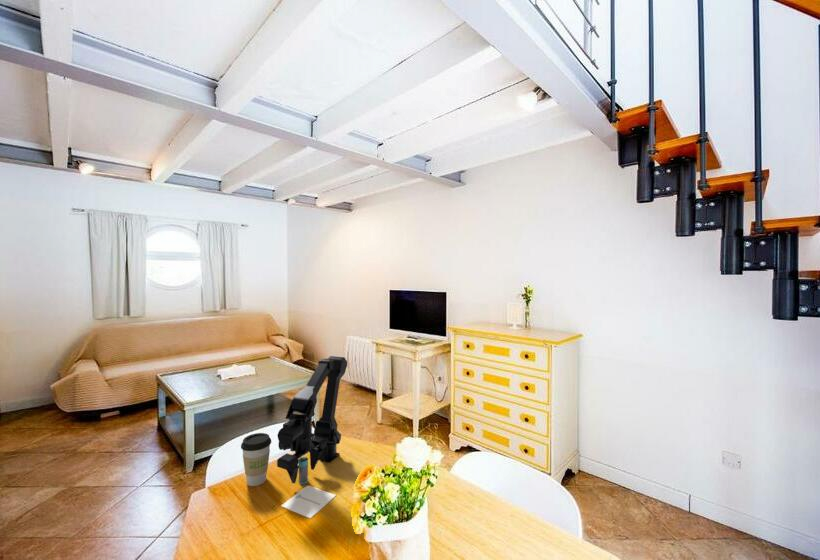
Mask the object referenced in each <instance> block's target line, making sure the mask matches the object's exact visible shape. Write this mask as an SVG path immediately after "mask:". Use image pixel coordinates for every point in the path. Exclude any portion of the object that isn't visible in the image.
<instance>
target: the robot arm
mask: <svg viewBox="0 0 820 560" xmlns="http://www.w3.org/2000/svg"><path fill="white" fill-rule="evenodd" d="M347 367H348V361H347V359H346V357H345V356H344V357H343V356H333V355H331V356H328V357H327V358H322V359H319V360H318V363H317V366H316V368H315V370H314V372H313V373H312V375H311V377H310V378H309V380H308V382H307V383H306V385H305V387H304V388H302V389H300V390H299V391H298V392H297V393H296V394H295V395H294V396H293V398H292V399H291V401H290V405H289V407H288V411H287V413H286V415H285V419H286V420H288V421H287V422H286V421H285V422H283V424H282V428H280V429H279V431H278V433H277V440H278V449H279V450H280V451H282V450H283V451H286V450H289V451H290V452H292V453H293V452H294V453H293V454H290V453H285V454H283V455H282V456H280V457H279V458H278V459H277V462H276V465H277V466H276V467H277V468H279V469H283V470H285V471H286V473H287V474H288V476H289V479H290V481H291V484H296V482H297V479H298V478H297V477H298V475H299V459H300V458H301V457H305V455H307V454H308V453H309V461H310V470H312V471H314V470H315V469H316V468H315V467H316V466H317V464H318V462H319V460H321V461H324V462H328V463H331V462H332V461H333V460H335V459H336V458H338V457H339V456H340V453H339V452H337V445H339V444H340V443H341V442H340V441H341V439H342V434H341V433H340V432H339V430H338V423H337V420H336V417H335V416H336V410H337V409H336V408H337V403H338V396H339V390H340V382H341V379H342V377H343V376H344V375H345V374H346V370H347ZM326 379H327V382H326V388H325V395H324V402H323V408H322V415H321V417H320V418H319V419H318V420H316V421H315V425H314V431H312V430H313V429H312V428H313V425H312V424H313V423H312V422H313V421H312V420H313V419H312V418H313V416H314V415H315V412H314V411H315V408H316V405H317V402H318V398H317V397H318V393H319V391H320V390H321V388H322V386H323V385H324V382H325V380H326Z"/></svg>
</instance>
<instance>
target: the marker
mask: <svg viewBox="0 0 820 560" xmlns="http://www.w3.org/2000/svg"><path fill="white" fill-rule="evenodd" d="M298 460H299V463H298V466H299V469H298V484H299V485H306V484H307V483H308V482H309V471H308V470H309V458H308V457H307V456H302V457H301V458H299V459H298Z"/></svg>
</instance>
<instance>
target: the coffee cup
mask: <svg viewBox="0 0 820 560" xmlns="http://www.w3.org/2000/svg"><path fill="white" fill-rule="evenodd" d="M271 444H272V439H271V437H270V435H269V433H266V432H265V433H264V432H257V433H252V434H250V435H247V436H246V437H244V438H243V440H242V442H241V445H240V449H241V450H242V461H243V468H244V472H245V479H246V484H247V486H249V487H256V486H260V485H262V484H264V483H265V482H266V481H267V474H268V469H269V468H268V467H269V459H270V452H271V451H270V449H271V448H270V447H271Z"/></svg>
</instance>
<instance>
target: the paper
mask: <svg viewBox="0 0 820 560" xmlns="http://www.w3.org/2000/svg"><path fill="white" fill-rule="evenodd" d="M335 497H337V495H336V494H334V493H331V492H329V491H328V492H327V490H326V491H325V490H323V489H320V488H317V487H314V486H312V485H306V486H305V487H303V488H302V489H300V491H298V492H297V493H296V494H295V495H293V496H292V497H290V498H289V499H288V500H287V501H285V502H283V504H281V505H280V506H281V508H284V509H286V510H289V511H291V512H294V513H295V514H298V515H301V516H303V517H306V518H308V519H312V518H313V517H314V516H316V514H317V513H319V512H320V511H321V510H322V509H323V508H325V506H326V505H327V504H329V503H330V502H331V501H332V500H333V499H334V498H335Z"/></svg>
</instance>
